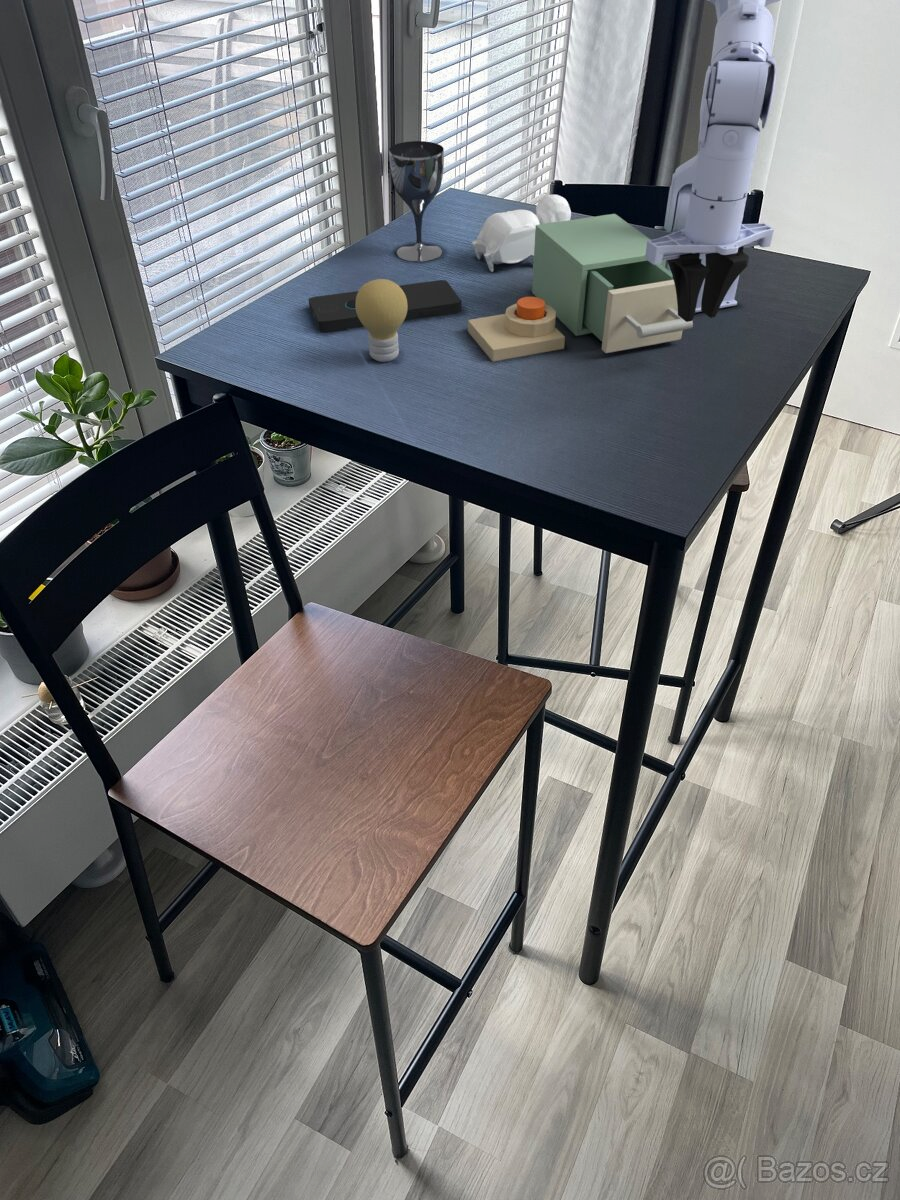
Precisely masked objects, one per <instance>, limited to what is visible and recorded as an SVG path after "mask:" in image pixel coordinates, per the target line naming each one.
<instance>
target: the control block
mask: <svg viewBox="0 0 900 1200" xmlns="http://www.w3.org/2000/svg"><path fill="white" fill-rule="evenodd" d="M556 320H557V317H556V311H555V310H554V309H553V308H552V307H550V306H548V305H545V313H544V317H543V318H542V319H538V320H524V319H521V318H518V317H517V303H514V304H512V305H509V306H508V307H507V308H506V310H505V313H502V314H497V315H489V316H484V317H477V318H472V319H467V332H468V334H469V335H470V336H471V337H472V338H473V340H474V341H475V342H476V344H478V346H479V347H480V349H482V351H483V352H484V353H485V354H486V356H487V357H488V358H489V359H490V361H492V362H497V361H502V360H509V359H513V358H520V357H526V356H530V355H537V354H542V353H546V352H547V353H548V352H552V351H558V350H564V349H565V342H566V336H565V335H564V334H563V333H562V332H561V331H560V330H559V329H558V328H557V327H556Z"/></svg>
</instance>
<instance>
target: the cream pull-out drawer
mask: <svg viewBox="0 0 900 1200" xmlns="http://www.w3.org/2000/svg"><path fill="white" fill-rule="evenodd" d="M693 322H694V321H693V320H692V321H690V322H686V321H684V320H683V319H682V318H681V317H680V316H678V306H677V295H676V289H675V284H674V279H673V276H672V273H671V272H670V271H669V270H667V267H666V266H665V267H663V266H662V265H661V264H657V265H653V264H652V263H650V262H649V261H642V262H636V263H629V264H623V265H617V266H611V267H604V268H598V269H592V270H587V280H586V291H585V301H584V312H583V322H582V323H583V324H584V325H585V326H586V327H587V328H588V329H589V330H590V331H591V332H592V333H591V334H593V335H594V336H595V337H596V338H597V339H598V340H599V341H600V342H602V343H601V351H602V352H603V353H605V354H609V353H614V352H620V351H626V350H632V349H637V348H642V347H648V346H653V345H658V344H664V343H668V342H669V343H670V342H674V341H675V342H676V341H680V340H681V339H682V337H683V331H687V330H691V329H693V326H694V323H693Z"/></svg>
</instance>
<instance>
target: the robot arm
mask: <svg viewBox="0 0 900 1200" xmlns="http://www.w3.org/2000/svg"><path fill="white" fill-rule="evenodd" d="M706 1H707V2H709V3H710V4H712V5H714V6H715V13H716V20H717V23H716V25H715V29H714V35H713V37H714V38H713V43H712V52H711V61H710V65H708V66H707V69H706V72H705V77H704V83H703V88H702V96H701V101H700V110H699V133H698V141H697V142H698V143H697V146H698V147H697V153H696V154H695V155H694V156H693V157H692V158H690V159H689V160H687V161H685V162H684V163H682V164H681V165H679V166H678V167H677V168H675V171H674V172H673V173H672V177H671V183H670V184H671V185H670V186H669V190H668V198H667V203H666V210H665V211H666V212H665V218H664V224H663V225H664V226H663V229H664V231H665V232H666V233H667V234H666V235H664V236H661V237H658V238H653V239H650V240H648V241H647V247H646V254H645V259H647V260H648V261H649V262H650V263H652V264H653V265H657V264H661V263H662V261H664V260H666V262H667V267H666V269H667V270H669V271H670V272H671V273H672V276H673V279H674V284H675V289H676V295H677V306H678V316H680V317H681V318H682V319H683V320H684V321H686V322H690V321H693V319H694V318H695V314H696V313H700V312H701V313H704V315H706V316H708V317H709V318H710V319H711V318H716V316H717V314H718V312H719V309H724V308H730V307H735V306H737V305H738V301H737V300H736V299H735V298H736V294H737V288H738V284H739V278H740V275H741V273H742V272H743V271H744V270H745V269H746V268H747V267H748V265H749V261H750V256H749V255H748V254H747V253H745V252H744V249H746V248H751V247H758V246H759V247H760V248H768V247H771V245H772V241H773V237H774V232H775V229H774V227H772V226H770V225H768V224H767V223H765V222H760V223H743V219H744V212H745V209H746V203H747V198H748V193H749V189H750V185H751V180H752V174H753V170H754V166H755V165H754V164H755V160H756V154H757V150H758V145H759V140H760V135H761V129H765V127H766V124H767V122H768V119H769V117H770V114H771V110H772V106H773V100H774V96H775V91H776V83H777V61H776V59H775V56H774V55H772V52H773V42H774V32H775V31H774V30H775V22H774V18H773V17H774V16H773V15H772V13H771V12H770V10H769V9H768V8H767V7H766V6H769V5H771V4H775V3H777V2H779V1H781V0H706ZM759 121H761V128H760V126H759Z"/></svg>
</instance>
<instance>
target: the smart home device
mask: <svg viewBox="0 0 900 1200" xmlns="http://www.w3.org/2000/svg"><path fill="white" fill-rule="evenodd" d="M398 286H399V287H400V288H401V289H402V290H403V292H404V293H405V296H406V299H407V305H408V307H407V314H406V317H405V319H404V321H403V322H407V321H413V320H420V319H428V318H435V317H442V316H449V315H455V314H460V313H462V300H461V298H460V297H459V295H458V294H457V293H456V291H455V290H454V288H453V287H452V286H451V285H450V283H449V282H448V281H447V280H446V279H439V280H431V281H422V282H416V283H415V282H414V283H408V284H400V285H398ZM358 291H359V290H356V291H355V290H354V291H347V292H341V293H333V294H326V295H317V296H313V297H309V298H308V307H309V311H310V314H311V317H312V319H313V321H314V323H315V326H316V328H317V329H318V332H319V333H332V332H339V331H345V330H350V329H357V328H365V327H364V326H363V324H362V323H361V321H360V320H359V318H358V316H357V313H356V308H355V304H356V296H357V293H358Z"/></svg>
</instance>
